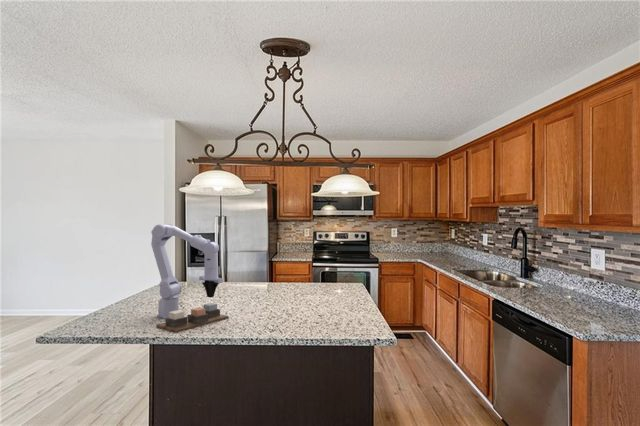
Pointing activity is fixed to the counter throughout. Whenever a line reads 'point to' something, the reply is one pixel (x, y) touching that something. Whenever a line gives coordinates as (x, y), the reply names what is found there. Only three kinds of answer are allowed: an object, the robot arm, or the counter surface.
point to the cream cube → (176, 315)
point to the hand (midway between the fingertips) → (210, 297)
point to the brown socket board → (191, 321)
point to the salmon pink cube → (198, 311)
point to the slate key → (210, 306)
